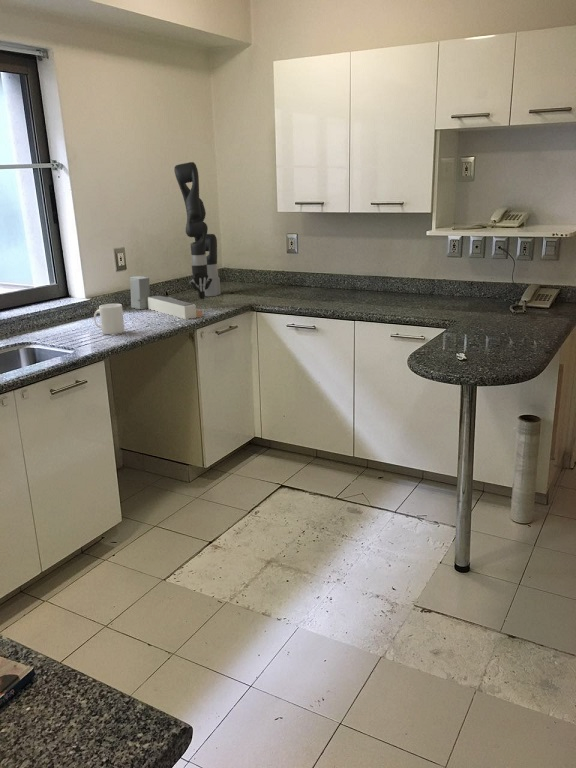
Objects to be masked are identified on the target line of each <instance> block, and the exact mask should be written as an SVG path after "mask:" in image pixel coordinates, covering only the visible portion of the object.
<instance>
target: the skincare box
mask: <svg viewBox="0 0 576 768" xmlns="http://www.w3.org/2000/svg"><path fill="white" fill-rule="evenodd" d="M129 283H130V284H129V285H130V286H129V287H130V307H131V309H134V308H135V309H136V310H140V309H141V310H146V309H145V308H148V309H149V307H148V297H151V291H150V290H151V288H150V277H146V276H142V275H141V276H140V275H137V276H130V277H129Z"/></svg>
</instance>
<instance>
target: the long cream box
mask: <svg viewBox="0 0 576 768" xmlns="http://www.w3.org/2000/svg"><path fill="white" fill-rule="evenodd" d="M167 297H168V296H163V295H160V294H159V295H152V296H151V295H150V297H148V307H149V308H148V310H150V309H151V311H153V310H155V311H154V312H157V311H158V313H161V312H162V314H164V313H165V314H164V315H168V314H169V316H171V315H173V316H172V317H175V316H177V317H176V318H178V317H180V319H182V318H183V320H190V319H189V318H191V319H196V317H197V318H201V317H203V313H202V309H197V308H196V307H197V305H196V304H193V303H192V302H187V301H182V300H179V299H176V300H175V298H173V299H171V298H172V297H171V298H167Z"/></svg>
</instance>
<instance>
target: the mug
mask: <svg viewBox="0 0 576 768" xmlns="http://www.w3.org/2000/svg"><path fill="white" fill-rule="evenodd" d="M123 313H124V312H123V304H121V303H105V304H101V305H99V306H98V309H96V311H95V312H94V314H93V321H94V324H95V326H96V327H97V328H99V329H101V332H102V334H104V335H106V334H114V335H118V333H120V334H122V332H123V333H124V332H125V324H124V321H125V320H124V314H123ZM98 314H99V317H100V319H99V320H100V325H99V324H98V322H97V315H98Z"/></svg>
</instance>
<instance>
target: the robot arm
mask: <svg viewBox="0 0 576 768" xmlns="http://www.w3.org/2000/svg"><path fill="white" fill-rule="evenodd" d="M198 170H199V169H198V167H197V165H196V163H195V162H194V161H192V162H191V161H190V162H185V163H180V164H176V165H175V166H174V175H175V178H176V181H177V183H178V187H179V190H180V191H181V195H182V198H183V202H184V205H185V211H186V224H185V225H186V226H185V234H186V236H187V237H188V238H194V242H191V243H190V253H191V254H190V256H191V257H190V259H191V260H190V261H191V272H192V277H191V278H192V279H191V280H188V284H189V285H190V287H191V288H192V289H193V291H197V292H198V298H199V299H201V300H203V299H205V297H217V296H220V295H221V279H220V277H219V272H218V271H219V270H218V239H217V236H216V235H215V233H208V224H207V223H206V222H205V219H206V216H207V215H206V214H207V213H206V207H205V206H204V202H203V200H202V199H201V198H200V182H199V181H200V180H199V176H200V175H199V171H198ZM189 183H192V185H191V188H189V186H188V185H187V184H189ZM206 252H208V254H207V255H206Z"/></svg>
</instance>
